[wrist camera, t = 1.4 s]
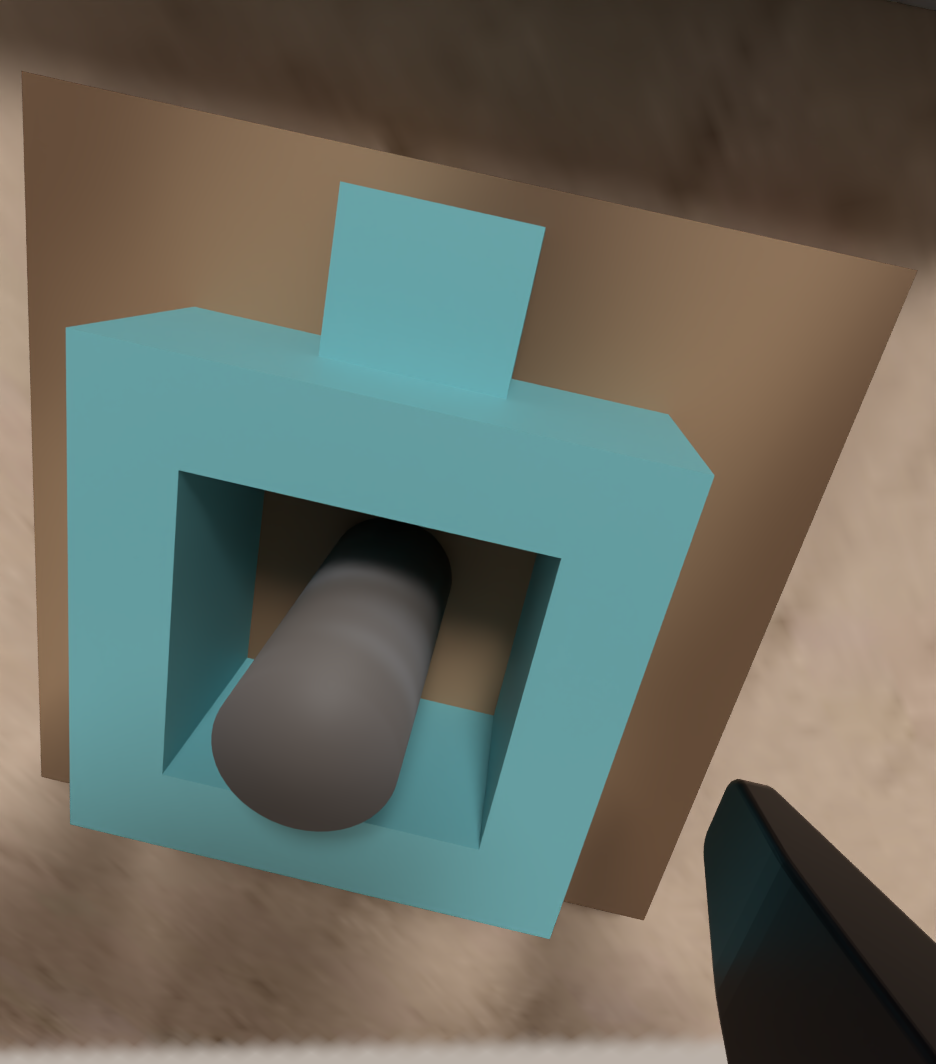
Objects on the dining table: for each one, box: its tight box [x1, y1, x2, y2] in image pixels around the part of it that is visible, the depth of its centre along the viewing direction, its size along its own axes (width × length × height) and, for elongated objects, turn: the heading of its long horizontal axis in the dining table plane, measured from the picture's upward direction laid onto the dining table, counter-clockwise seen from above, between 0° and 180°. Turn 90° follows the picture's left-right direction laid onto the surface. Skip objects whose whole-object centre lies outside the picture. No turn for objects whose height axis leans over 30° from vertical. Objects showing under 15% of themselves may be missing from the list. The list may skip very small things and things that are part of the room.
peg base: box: [22, 71, 918, 920], centre depth 10 cm, size 12×12×6 cm
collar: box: [66, 181, 715, 939], centre depth 10 cm, size 7×9×3 cm
